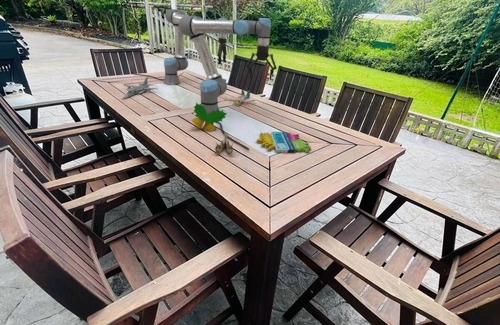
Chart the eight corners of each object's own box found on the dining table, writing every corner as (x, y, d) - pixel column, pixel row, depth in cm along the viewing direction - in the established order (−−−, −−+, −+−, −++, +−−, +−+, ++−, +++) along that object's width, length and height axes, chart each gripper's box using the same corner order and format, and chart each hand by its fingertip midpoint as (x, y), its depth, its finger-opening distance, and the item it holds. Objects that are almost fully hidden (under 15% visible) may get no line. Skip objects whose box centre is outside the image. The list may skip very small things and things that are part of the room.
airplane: (117, 88, 232) (115, 76, 227) (154, 85, 245) (152, 75, 240) (121, 101, 204) (118, 88, 199) (162, 97, 217) (161, 85, 212)
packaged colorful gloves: (313, 150, 142) (258, 149, 139) (312, 153, 143) (258, 152, 140) (301, 132, 164) (254, 130, 161) (301, 134, 165) (254, 133, 162)
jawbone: (234, 135, 144) (233, 125, 135) (233, 160, 138) (232, 151, 129) (217, 135, 144) (216, 125, 135) (216, 160, 138) (214, 150, 129)
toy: (261, 91, 228) (254, 99, 202) (261, 99, 231) (253, 108, 205) (231, 87, 233) (220, 95, 207) (230, 95, 236) (219, 104, 210)
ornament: (218, 133, 171) (224, 110, 169) (221, 134, 163) (227, 111, 161) (186, 125, 162) (192, 101, 160) (189, 126, 155) (195, 101, 153)
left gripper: (222, 39, 221) (221, 65, 231) (230, 37, 242) (229, 61, 253) (213, 38, 222) (213, 64, 233) (222, 36, 244) (222, 60, 254)
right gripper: (281, 46, 172) (277, 78, 183) (243, 43, 170) (242, 77, 181) (283, 47, 166) (279, 81, 176) (244, 44, 164) (242, 79, 174)
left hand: (222, 63), depth 243 cm, fingers open, 13 cm apart
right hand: (260, 79), depth 178 cm, fingers open, 13 cm apart
